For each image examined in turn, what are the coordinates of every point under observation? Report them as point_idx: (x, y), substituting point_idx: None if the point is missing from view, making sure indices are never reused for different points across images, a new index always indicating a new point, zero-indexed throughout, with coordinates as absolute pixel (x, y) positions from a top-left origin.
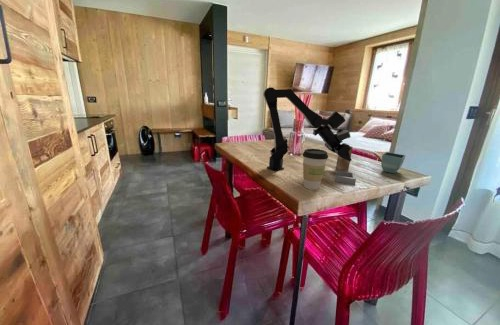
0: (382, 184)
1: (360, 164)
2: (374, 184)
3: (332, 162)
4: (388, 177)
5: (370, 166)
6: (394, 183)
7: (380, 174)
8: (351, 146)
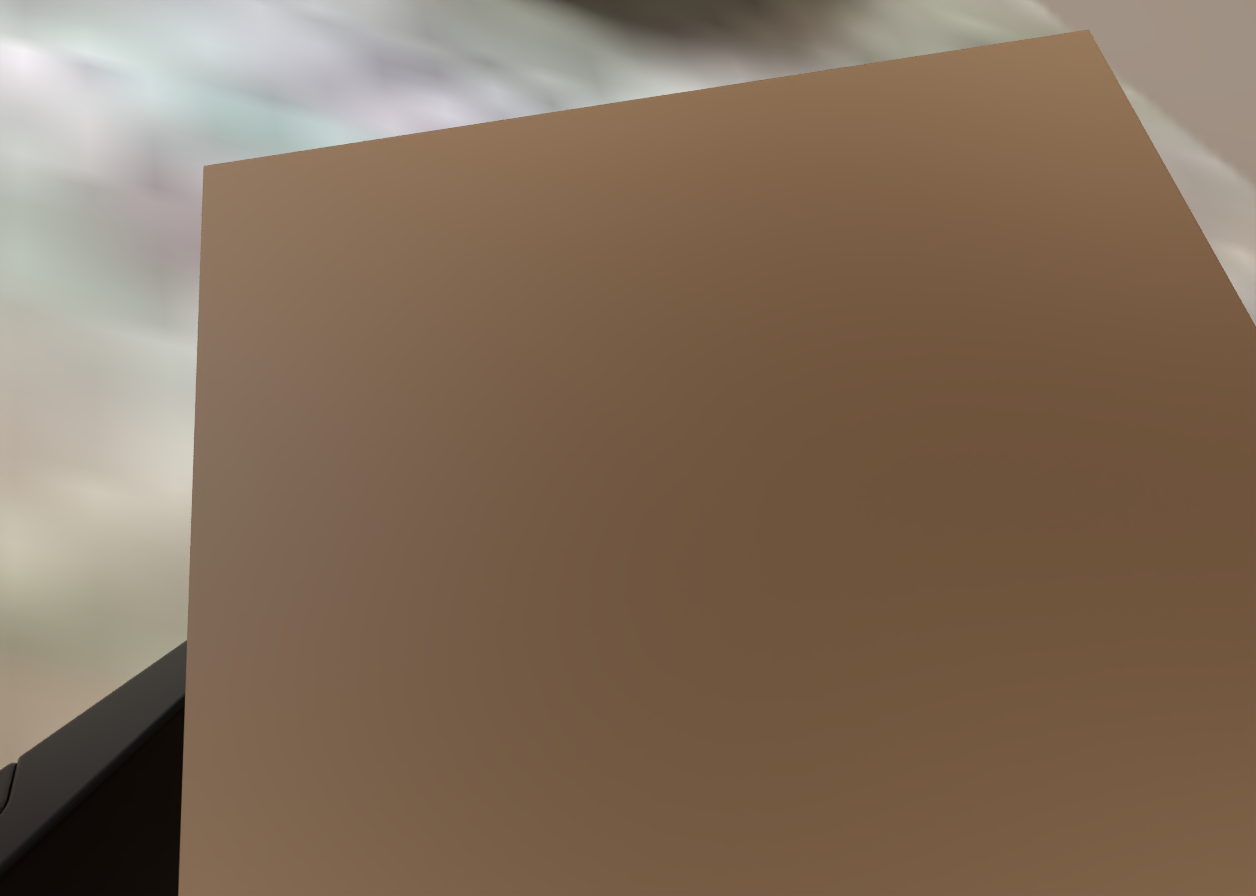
0: (1182, 161)
1: (156, 183)
2: (1252, 265)
3: (10, 750)
4: (798, 2)
5: (269, 67)
6: (1046, 13)
7: (686, 54)
8: (962, 75)
